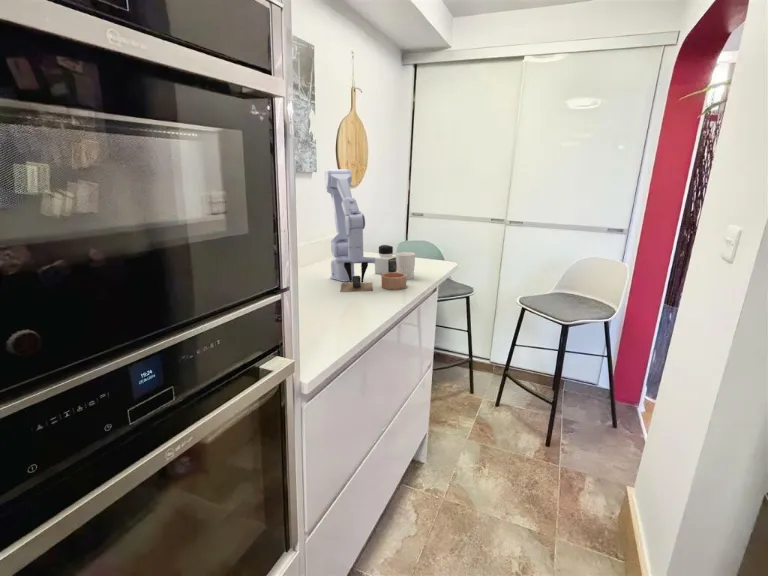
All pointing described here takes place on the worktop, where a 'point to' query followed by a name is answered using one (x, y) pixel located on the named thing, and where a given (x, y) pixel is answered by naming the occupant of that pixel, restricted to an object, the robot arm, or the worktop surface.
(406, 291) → the worktop surface
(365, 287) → the lid
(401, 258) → the white cup
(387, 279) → the bowl
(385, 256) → the medicine bottle
